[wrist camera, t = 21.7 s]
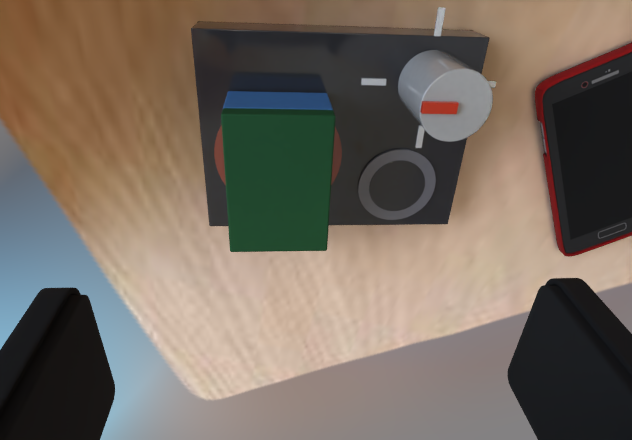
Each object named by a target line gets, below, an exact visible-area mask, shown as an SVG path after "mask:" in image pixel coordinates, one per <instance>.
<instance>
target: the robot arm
mask: <svg viewBox="0 0 632 440" xmlns="http://www.w3.org/2000/svg"><path fill="white" fill-rule="evenodd" d="M508 380H509V384H510V386H511V389H512V391H513V392H514V394H515V396H516V398H517V400H518V402H519V404H520V406H521V408H522V410H523V412H524V414H525V415H526V417H527V419H528V421H529V423H530V425H531V427H532V429H533V431H534V433H535V435H536V436H537V439H538V440H632V334H631V333H630V332H629V331H628V329H626V327H625V326H624V325H623V324H622V323H621V322H620V321H619V319H618V318H617V317H616V316H615V315H614V314H613V313H612V312H611V310H610V309H609V308H608V307H607V306H606V305H605V304H604V303H603V302H602V300H601V299H600V298H599V297H598V296H597V295H596V294H595V293H594V291H593V290H592V289H591V288H590V287H589V286H588V285H587V284H586V283H585V282H584V281H583V280H582V279H579V278H554V279H550V280H549V281H547V283H546V285H545V286H542V287H540V289H539V291H538V293H537V296H536V298H535V301H534V303H533V306H532V309H531V311H530V314H529V316H528V319H527V322H526V324H525V327H524V329H523V332H522V335H521V337H520V340H519V342H518V345H517V348H516V350H515V353H514V356H513V358H512V360H511V363H510V366H509V368H508ZM114 395H115V384H114V380H113V377H112V374H111V370H110V367H109V363H108V360H107V357H106V353H105V350H104V347H103V343H102V340H101V337H100V333H99V330H98V327H97V323H96V320H95V317H94V313H93V310H92V306H91V303H90V300H89V298H88V296H87V295H81V294H80V293H79V290H78V289H76V288H44V289H42V290H41V291H40V292H39V293H38V295H37V296H36V297H35V299H34V301H33V302H32V303H31V305H30V306H29V308H28V309H27V311H26V312H25V314H24V315H23V317H22V318H21V320H20V321H19V323H18V324H17V326H16V327H15V329H14V330H13V332H12V333H11V335H10V336H9V338H8V339H7V341H6V342H5V344H4V345H3V347H2V349H1V350H0V440H100V438H101V435H102V432H103V429H104V426H105V423H106V421H107V418H108V415H109V412H110V409H111V406H112V403H113V400H114Z"/></svg>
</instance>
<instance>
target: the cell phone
mask: <svg viewBox="0 0 632 440" xmlns="http://www.w3.org/2000/svg"><path fill="white" fill-rule="evenodd" d="M535 105H536V112H537V119H538V121H540V127H541V133H542V140H543V146H544V154H543V157H544V163H545V170H546V176H547V182H548V189H549V195H550V202H551V208H552V214H553V221H554V227H555V233H556V240H557V245H558V247H559V250H560V251H561V252H562V253H563V254H564V255H565V256H575V255H578V254H582V253H584V252H587V251H590V250H593V249H596V248H598V247H601V246H604V245H607V244H609V243H612V242H615V241H618V240H620V239H623V238H626V237H629V236H632V43H630V44H628V45H625V46H623V47H621V48H618V49H616V50H613V51H611V52H609V53H606V54H604V55H601V56H599V57H597V58H594V59H592V60H590V61H587V62H585V63H582V64H580V65H578V66H575V67H573V68H570V69H568V70H566V71H563V72H561V73H558V74H556V75H554V76H552V77H549V78H547V79H546V80H544V81H542V82H541V83H540V84H539V85H538V86H537V87H536V91H535Z"/></svg>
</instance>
